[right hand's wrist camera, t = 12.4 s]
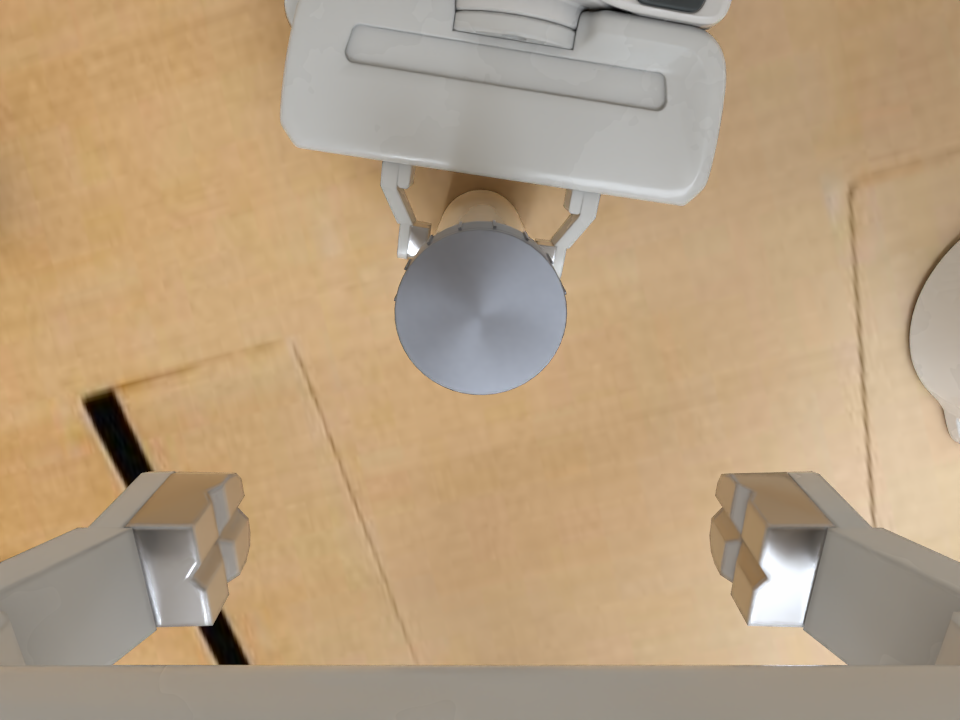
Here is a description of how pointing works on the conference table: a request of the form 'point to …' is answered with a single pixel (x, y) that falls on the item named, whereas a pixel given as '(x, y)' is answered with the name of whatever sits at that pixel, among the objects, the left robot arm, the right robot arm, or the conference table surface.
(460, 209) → the jar
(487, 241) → the lid
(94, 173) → the conference table surface
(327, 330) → the conference table surface
